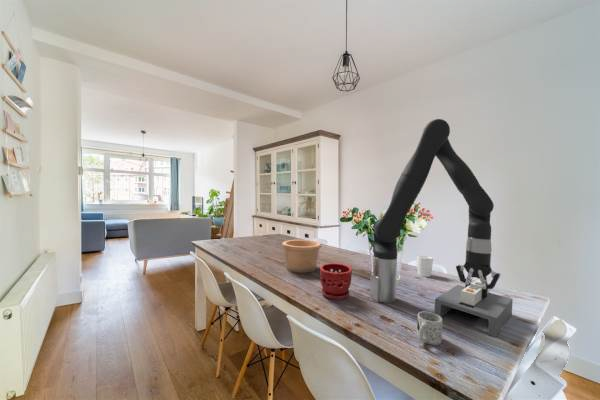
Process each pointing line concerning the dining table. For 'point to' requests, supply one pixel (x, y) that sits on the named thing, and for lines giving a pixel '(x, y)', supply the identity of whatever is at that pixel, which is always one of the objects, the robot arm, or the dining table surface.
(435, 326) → the mug
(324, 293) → the plant pot
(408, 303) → the dining table surface
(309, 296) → the dining table surface
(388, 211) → the robot arm
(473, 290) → the power strip
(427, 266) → the white cup
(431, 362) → the dining table surface
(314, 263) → the pottery
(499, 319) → the keyhole board
